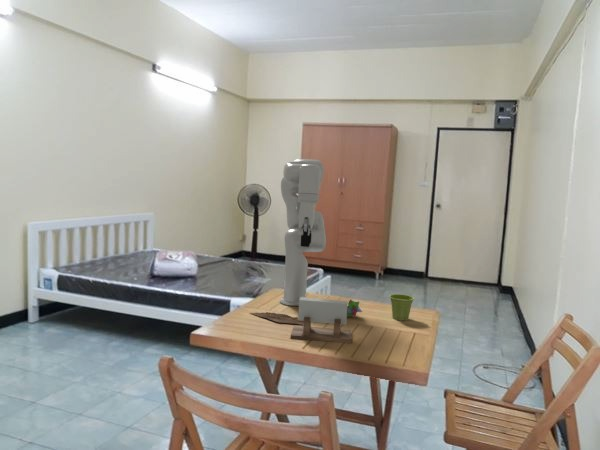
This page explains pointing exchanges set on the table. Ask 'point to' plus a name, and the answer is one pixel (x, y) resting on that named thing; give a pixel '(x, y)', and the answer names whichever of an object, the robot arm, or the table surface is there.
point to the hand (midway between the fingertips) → (305, 244)
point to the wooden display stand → (321, 332)
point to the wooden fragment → (280, 318)
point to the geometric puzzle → (353, 308)
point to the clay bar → (322, 310)
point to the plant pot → (401, 306)
